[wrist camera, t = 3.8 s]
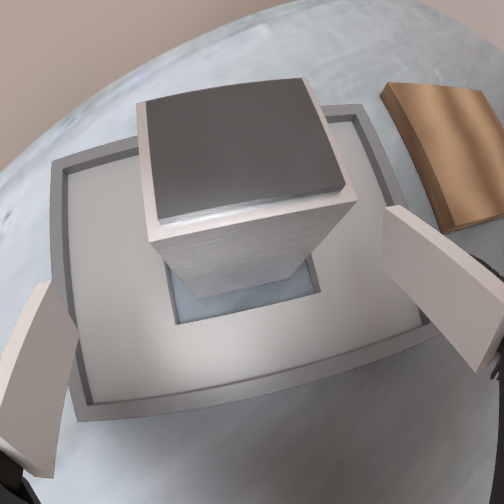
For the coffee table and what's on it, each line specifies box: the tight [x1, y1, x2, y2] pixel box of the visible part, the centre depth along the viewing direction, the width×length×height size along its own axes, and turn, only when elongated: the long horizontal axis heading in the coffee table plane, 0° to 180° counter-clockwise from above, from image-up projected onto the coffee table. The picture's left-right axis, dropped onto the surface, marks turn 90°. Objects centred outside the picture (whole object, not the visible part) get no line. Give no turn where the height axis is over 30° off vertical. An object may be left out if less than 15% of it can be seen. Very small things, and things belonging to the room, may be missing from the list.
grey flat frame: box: [50, 104, 442, 422], centre depth 20 cm, size 24×18×2 cm
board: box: [380, 82, 504, 234], centre depth 24 cm, size 14×14×2 cm
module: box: [136, 77, 358, 299], centre depth 15 cm, size 6×5×13 cm
